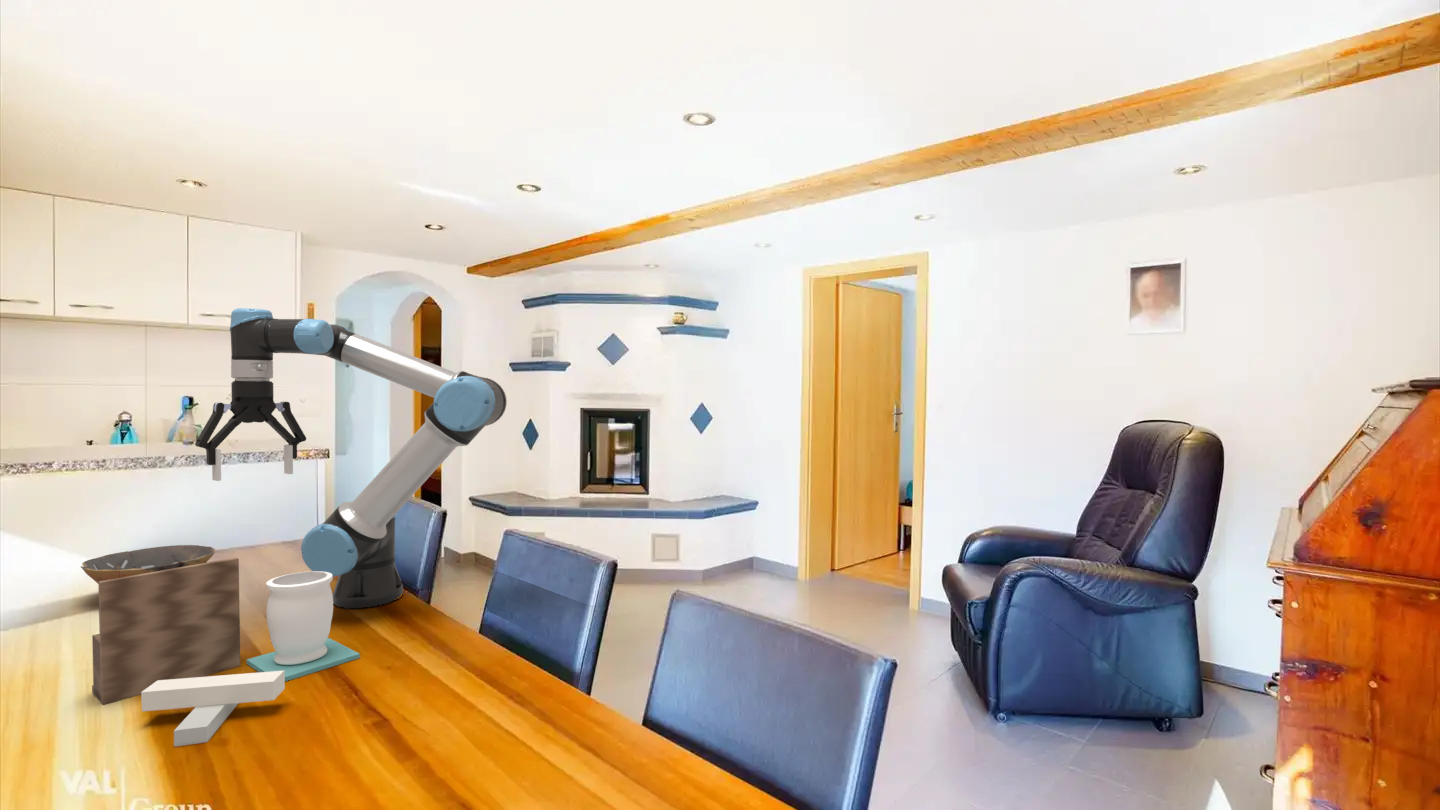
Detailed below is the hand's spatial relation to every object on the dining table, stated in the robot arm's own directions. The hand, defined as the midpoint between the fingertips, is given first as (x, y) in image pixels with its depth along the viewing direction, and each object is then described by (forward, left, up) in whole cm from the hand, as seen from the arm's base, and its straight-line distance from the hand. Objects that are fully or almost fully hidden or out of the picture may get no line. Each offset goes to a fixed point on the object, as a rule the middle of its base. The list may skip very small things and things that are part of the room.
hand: (254, 477), depth 146 cm
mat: (+3, +32, -32) cm, 45 cm away
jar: (+3, +32, -31) cm, 45 cm away
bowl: (+9, -39, -32) cm, 51 cm away
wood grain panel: (+21, +22, -32) cm, 43 cm away
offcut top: (+20, +43, -29) cm, 56 cm away
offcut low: (+20, +43, -32) cm, 58 cm away
